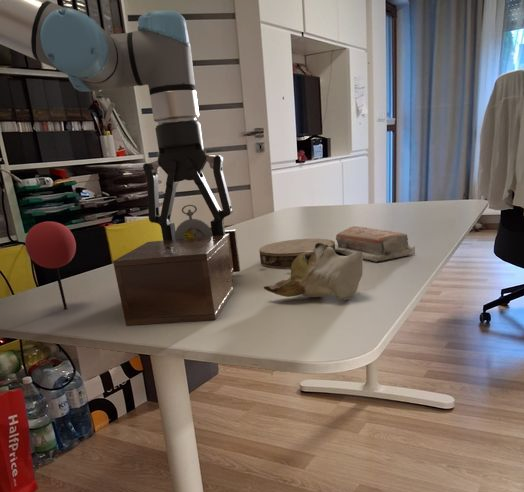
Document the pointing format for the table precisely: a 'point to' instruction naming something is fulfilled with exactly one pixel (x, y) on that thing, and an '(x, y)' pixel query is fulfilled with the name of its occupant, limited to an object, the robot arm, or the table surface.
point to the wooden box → (175, 280)
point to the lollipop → (51, 247)
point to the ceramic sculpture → (322, 274)
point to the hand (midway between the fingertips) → (197, 258)
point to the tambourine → (288, 251)
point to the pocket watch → (192, 227)
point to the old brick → (373, 243)
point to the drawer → (231, 250)
